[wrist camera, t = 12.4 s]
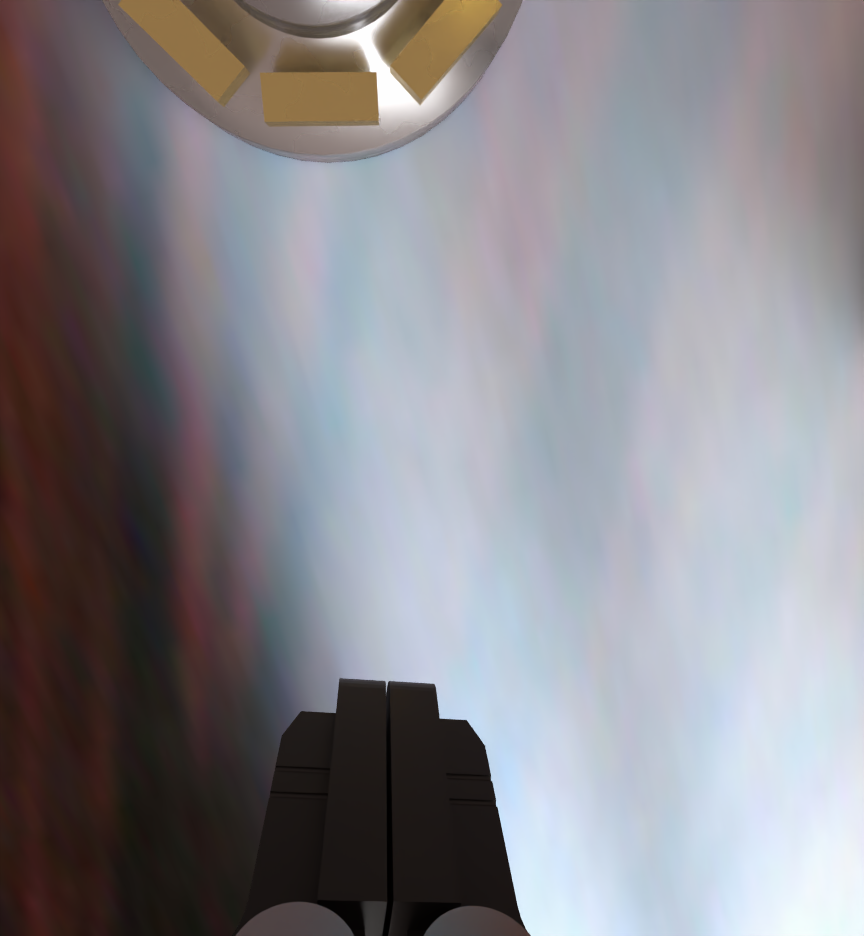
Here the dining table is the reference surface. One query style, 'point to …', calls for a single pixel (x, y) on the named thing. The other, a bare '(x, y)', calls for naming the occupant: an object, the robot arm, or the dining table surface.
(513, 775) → the dining table surface
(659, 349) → the dining table surface
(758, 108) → the dining table surface
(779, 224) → the dining table surface
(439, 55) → the peg on ring base
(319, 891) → the robot arm
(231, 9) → the grey round piece
